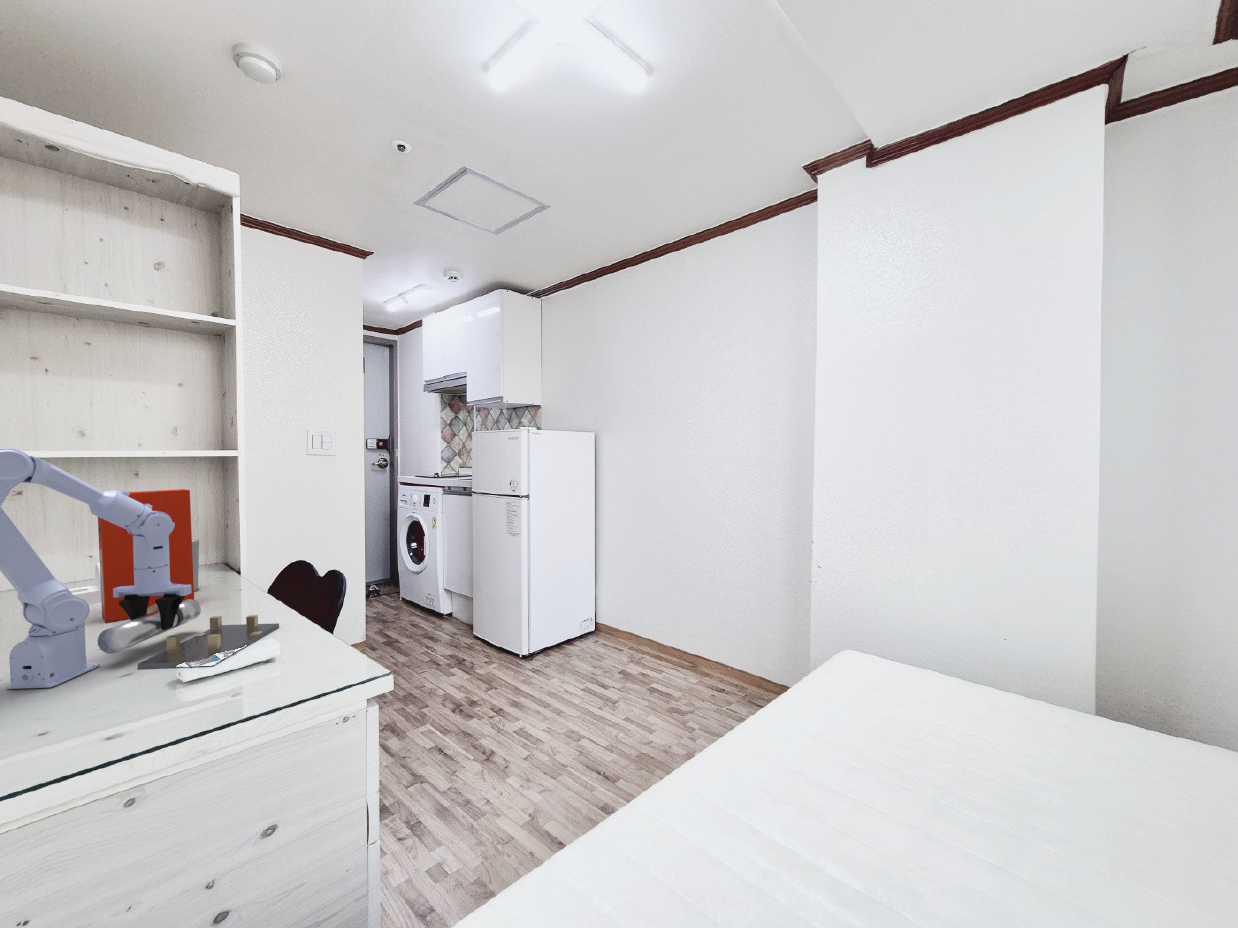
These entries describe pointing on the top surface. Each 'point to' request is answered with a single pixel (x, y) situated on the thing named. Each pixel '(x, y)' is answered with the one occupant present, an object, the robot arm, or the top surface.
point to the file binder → (120, 550)
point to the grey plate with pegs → (209, 642)
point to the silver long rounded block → (144, 628)
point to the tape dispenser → (90, 589)
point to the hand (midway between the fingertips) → (154, 628)
